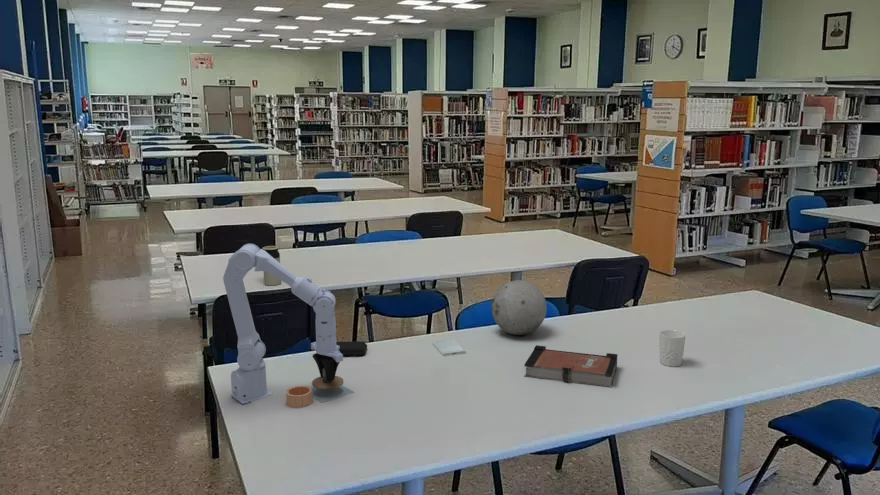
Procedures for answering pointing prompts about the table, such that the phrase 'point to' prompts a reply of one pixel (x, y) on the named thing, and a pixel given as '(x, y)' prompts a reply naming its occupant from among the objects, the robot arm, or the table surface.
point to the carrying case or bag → (352, 348)
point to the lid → (327, 382)
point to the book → (571, 367)
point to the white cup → (671, 347)
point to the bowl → (299, 396)
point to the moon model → (518, 307)
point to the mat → (330, 393)
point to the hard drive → (448, 347)
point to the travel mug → (268, 278)
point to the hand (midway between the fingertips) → (327, 378)
